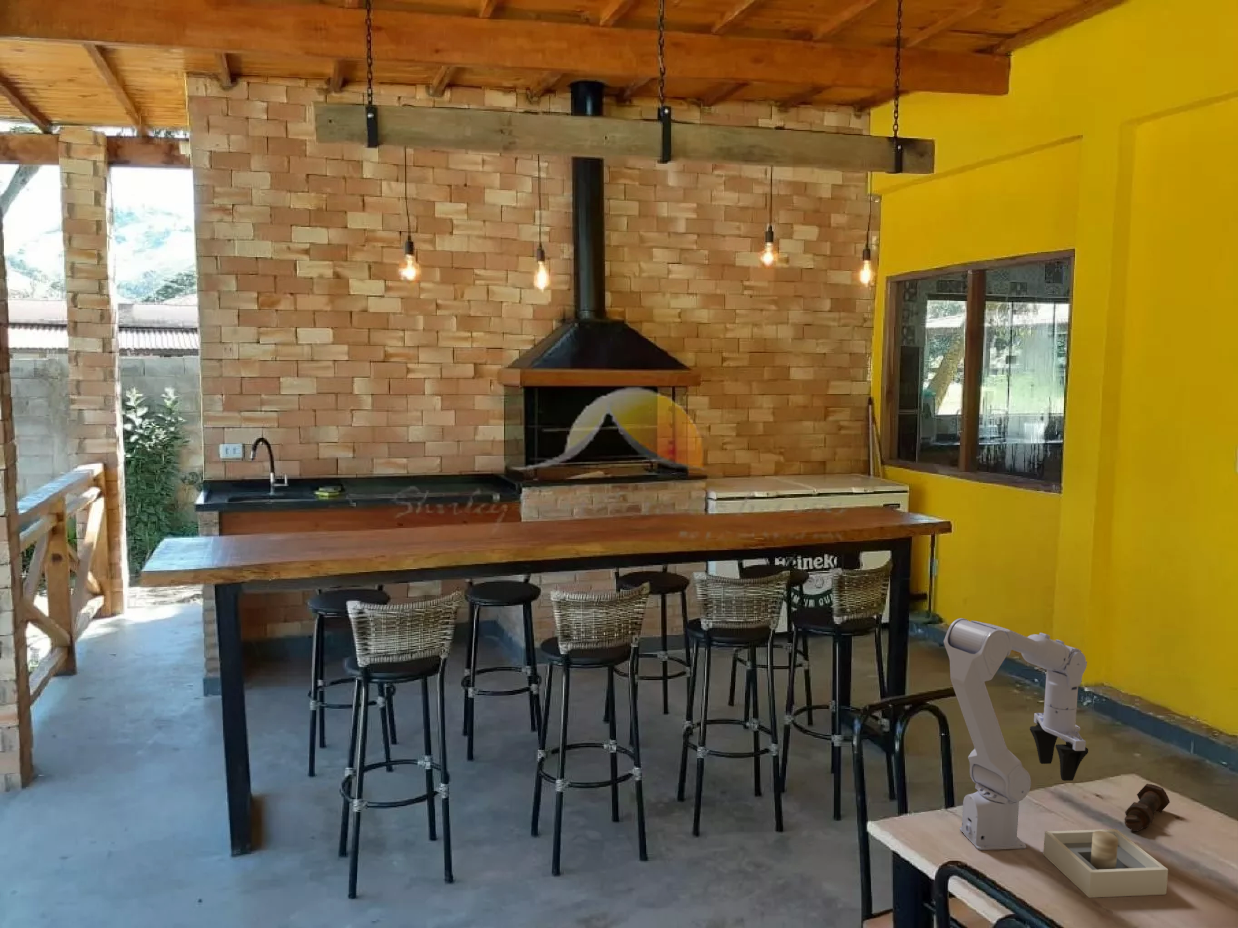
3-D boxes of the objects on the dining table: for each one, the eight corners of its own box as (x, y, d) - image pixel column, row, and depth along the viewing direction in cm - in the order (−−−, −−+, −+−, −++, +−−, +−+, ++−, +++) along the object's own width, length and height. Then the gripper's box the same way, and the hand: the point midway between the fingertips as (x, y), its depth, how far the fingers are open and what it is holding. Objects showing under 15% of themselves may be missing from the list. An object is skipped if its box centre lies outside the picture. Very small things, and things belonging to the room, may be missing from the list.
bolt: (1127, 840, 179) (1149, 812, 190) (1153, 836, 176) (1174, 808, 187) (1112, 811, 181) (1135, 785, 191) (1138, 806, 177) (1159, 780, 188)
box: (1088, 897, 156) (1090, 872, 155) (1043, 854, 170) (1044, 831, 169) (1166, 894, 157) (1168, 869, 157) (1114, 852, 171) (1116, 828, 171)
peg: (1098, 880, 161) (1101, 842, 160) (1085, 868, 165) (1087, 831, 164) (1120, 879, 162) (1123, 841, 161) (1106, 867, 165) (1108, 830, 165)
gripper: (1102, 718, 173) (1097, 787, 175) (1058, 691, 188) (1054, 755, 189) (1067, 718, 172) (1062, 788, 174) (1025, 692, 187) (1021, 756, 188)
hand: (1056, 771), depth 181 cm, fingers open, 7 cm apart
